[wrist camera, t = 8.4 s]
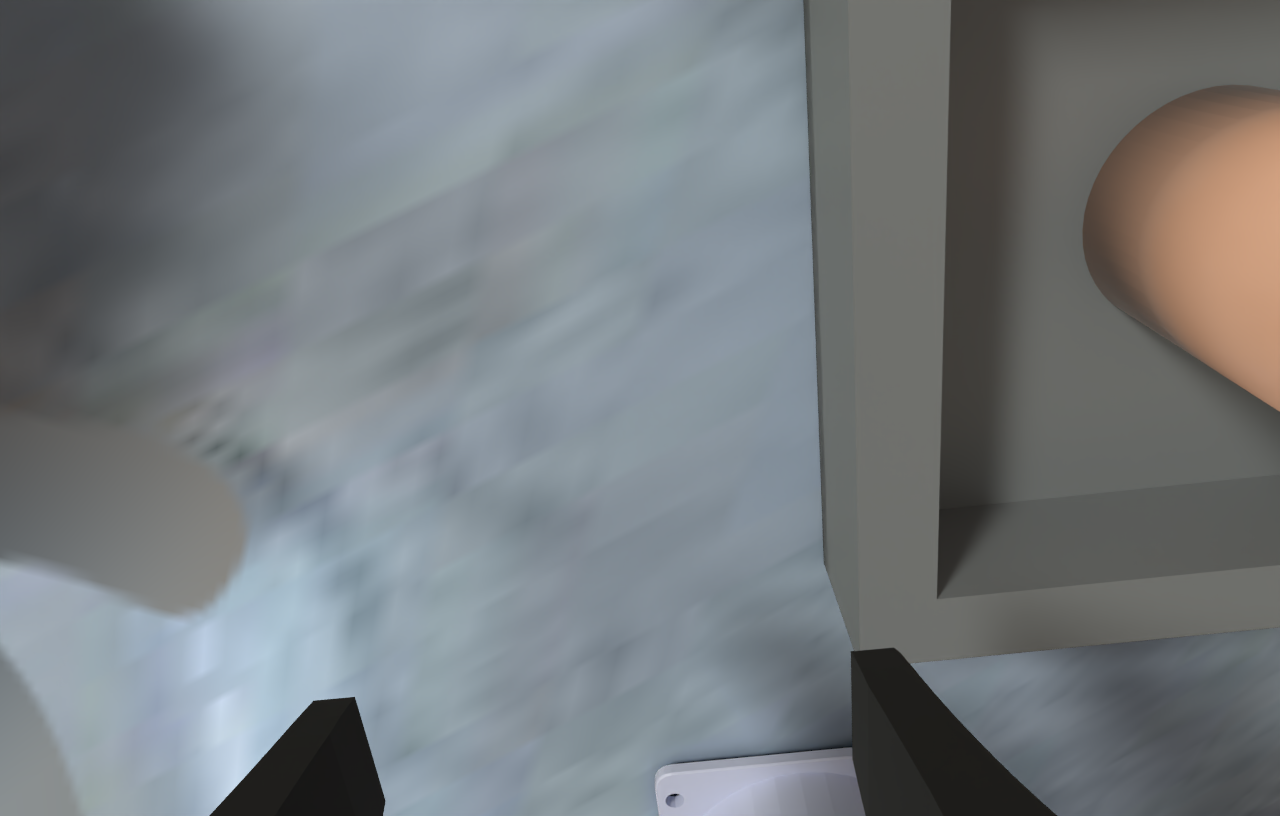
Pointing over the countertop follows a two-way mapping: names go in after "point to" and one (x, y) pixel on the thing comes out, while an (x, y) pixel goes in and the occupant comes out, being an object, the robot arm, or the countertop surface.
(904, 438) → the bin
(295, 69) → the countertop surface
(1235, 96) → the peach rounded cylinder
